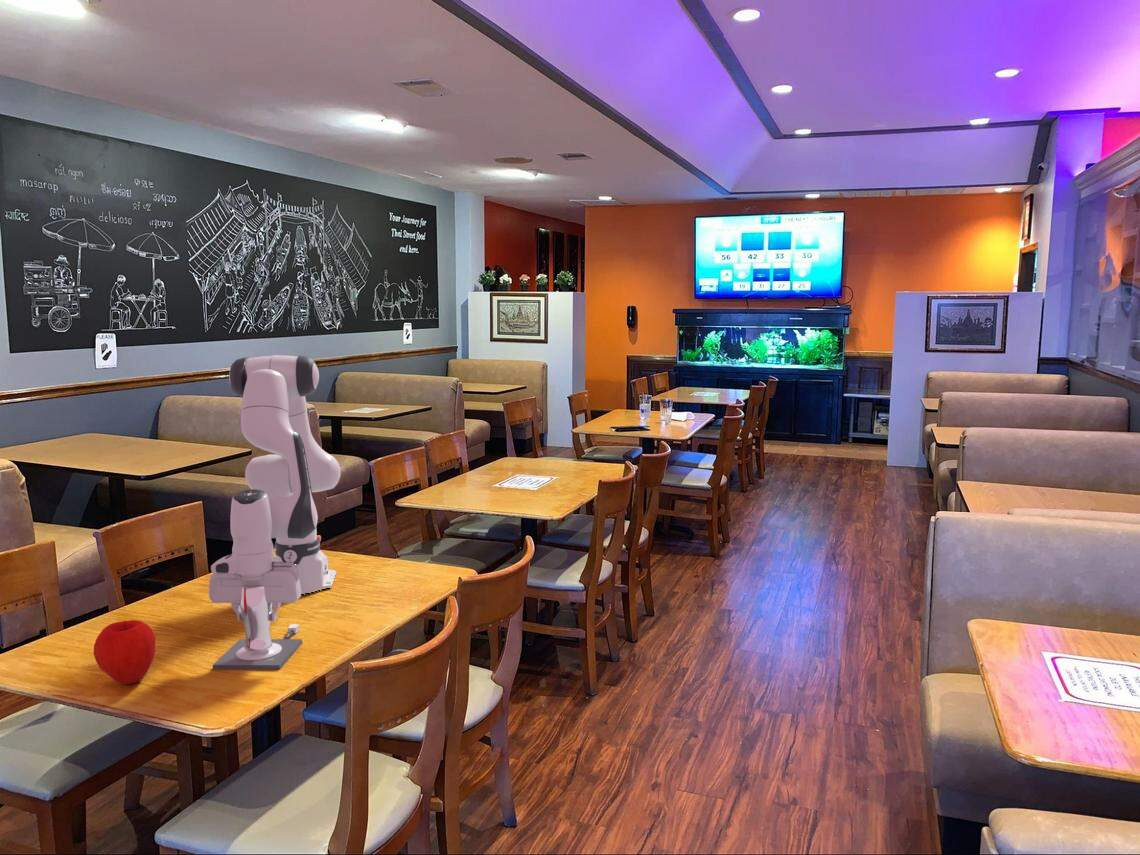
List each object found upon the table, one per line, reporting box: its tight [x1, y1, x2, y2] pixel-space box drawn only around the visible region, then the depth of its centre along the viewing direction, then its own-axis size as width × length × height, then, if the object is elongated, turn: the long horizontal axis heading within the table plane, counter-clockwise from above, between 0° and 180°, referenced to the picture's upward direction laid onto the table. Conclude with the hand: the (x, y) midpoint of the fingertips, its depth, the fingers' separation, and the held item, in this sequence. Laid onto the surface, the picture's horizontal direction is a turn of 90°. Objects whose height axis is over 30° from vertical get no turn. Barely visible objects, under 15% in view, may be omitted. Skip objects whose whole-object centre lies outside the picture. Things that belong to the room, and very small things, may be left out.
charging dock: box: [212, 623, 303, 670], centre depth 200 cm, size 23×15×2 cm, turn 179°
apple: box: [93, 619, 157, 685], centre depth 182 cm, size 12×12×13 cm
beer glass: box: [240, 586, 273, 652], centre depth 195 cm, size 7×7×15 cm
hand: (257, 620), depth 195 cm, fingers closed on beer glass, 6 cm apart
